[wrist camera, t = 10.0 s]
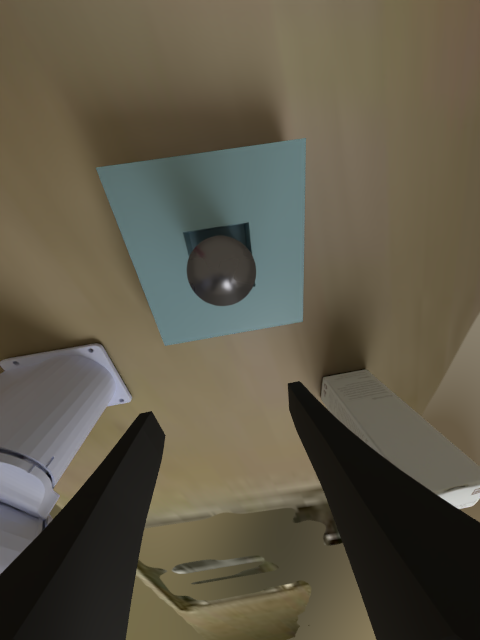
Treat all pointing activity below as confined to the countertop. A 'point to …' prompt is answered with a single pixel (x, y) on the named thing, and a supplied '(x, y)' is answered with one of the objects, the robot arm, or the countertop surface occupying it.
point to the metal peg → (221, 270)
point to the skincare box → (402, 436)
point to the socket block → (215, 232)
